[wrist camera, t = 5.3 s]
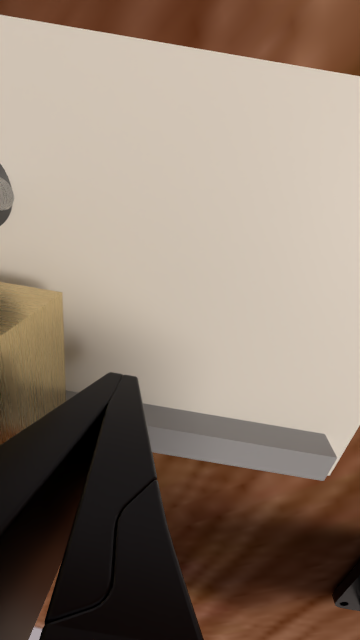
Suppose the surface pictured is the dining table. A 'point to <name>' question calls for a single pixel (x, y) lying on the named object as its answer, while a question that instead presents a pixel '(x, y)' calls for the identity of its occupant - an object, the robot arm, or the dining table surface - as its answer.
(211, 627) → the dining table surface
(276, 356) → the pitch board
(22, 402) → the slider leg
